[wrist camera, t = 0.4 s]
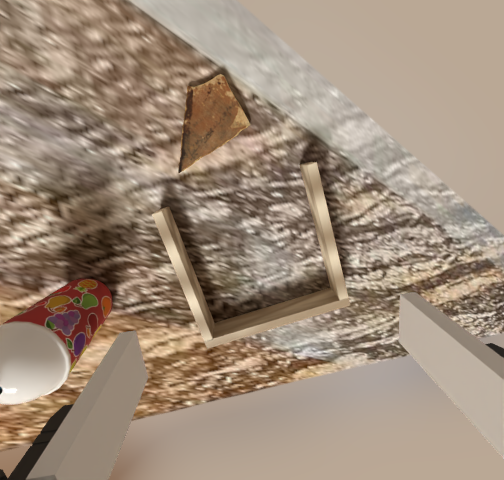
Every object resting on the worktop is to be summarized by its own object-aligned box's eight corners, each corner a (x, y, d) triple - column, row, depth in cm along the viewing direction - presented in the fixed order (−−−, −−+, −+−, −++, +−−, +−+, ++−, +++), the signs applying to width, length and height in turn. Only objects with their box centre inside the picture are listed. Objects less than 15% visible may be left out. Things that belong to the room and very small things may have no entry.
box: (160, 208, 38) (152, 214, 34) (308, 162, 38) (316, 162, 34) (209, 331, 44) (207, 348, 40) (339, 292, 43) (350, 305, 39)
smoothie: (49, 301, 41) (-116, 427, 22) (81, 257, 39) (-65, 350, 20) (101, 333, 43) (-8, 475, 23) (133, 292, 41) (45, 408, 22)
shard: (180, 173, 38) (178, 173, 36) (144, 118, 36) (140, 116, 34) (251, 127, 37) (252, 125, 35) (218, 68, 35) (217, 64, 33)
